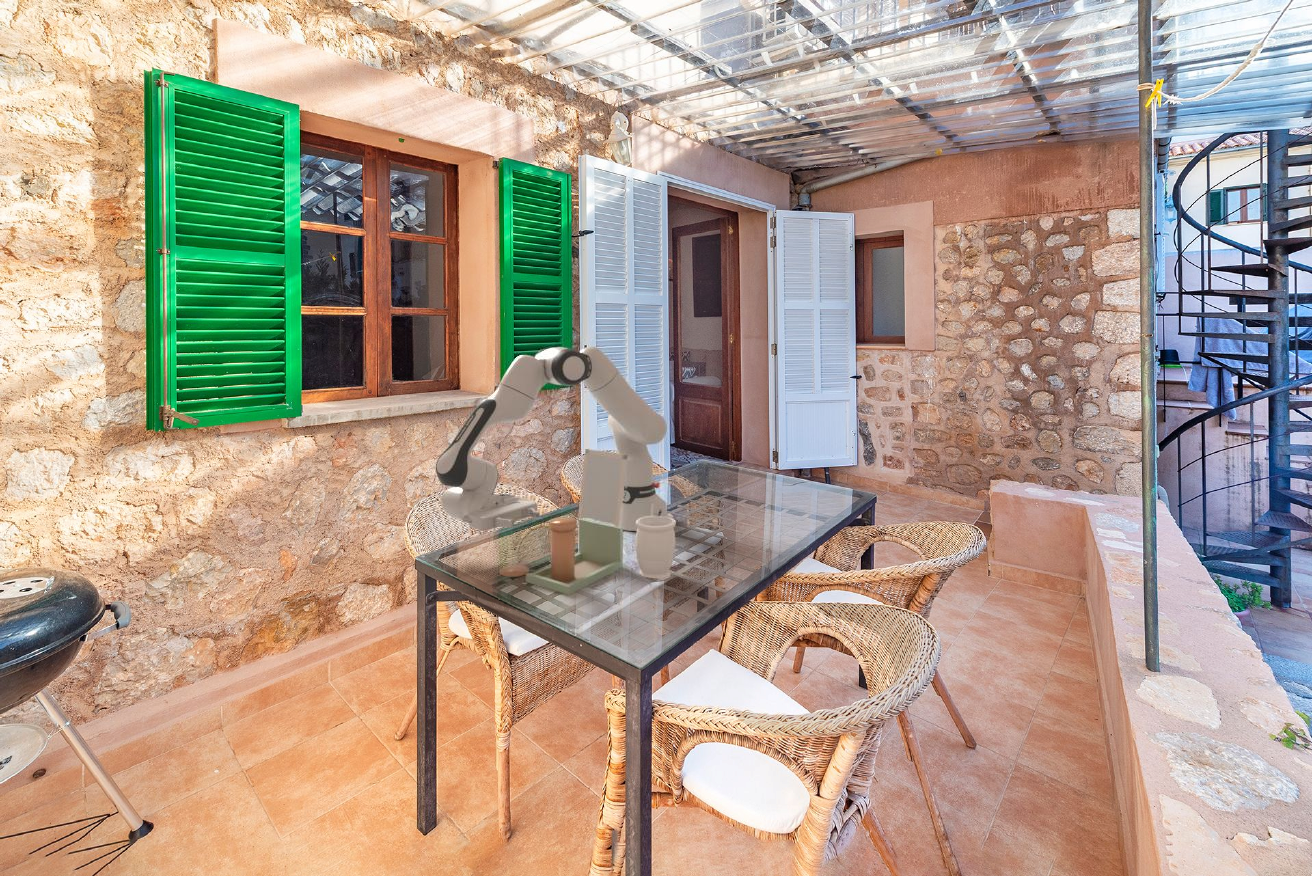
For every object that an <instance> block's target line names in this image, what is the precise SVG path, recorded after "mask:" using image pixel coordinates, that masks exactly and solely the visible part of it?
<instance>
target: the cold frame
mask: <svg viewBox="0 0 1312 876" xmlns="http://www.w3.org/2000/svg"><path fill="white" fill-rule="evenodd" d="M623 545H624V530H623V528H622V527H616V526H614V525H613V524H610V523H605V522H601V521H599V522H598V521H596V520H592V519H590V520H589V519H587V518H583V519H580V518H578V552H577V553H575V578H574V580H572V581H570V582H564V583H563V582H559V581H556V580H552V579H551V564H550V565H548V566H545V567H543V568H541V569H539V570H536V571H534V572H528V573H527V574H525V583H528V584H532V585H535V586H539V587H541V588H544V589H549V590H551V591H555V592H557V593H561V594H565V595H567V596H570V595H572V594H574V593H576V592H578V591H580V590H581V589H583V588H585V587H587V586H589V585H591V584H593V583H596V582H597V581H599V580H601V579H603V578H604V577H607V576H609V575H610V574H613V573H615V572H617V571H618V570H621V569H622V568H623V566H624V565H623V564H624V562H623V559H624V554H623V553H624V550H623V549H624V547H623Z"/></svg>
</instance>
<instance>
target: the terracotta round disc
mask: <svg viewBox="0 0 1312 876" xmlns="http://www.w3.org/2000/svg"><path fill="white" fill-rule="evenodd" d="M527 573H530V567H528V566H526V565H524V564H522V565H521V564H510V565H505V566H503V567H501V568H500V569H499V574H500V575H501V576H503V577H509V578H511V577H513V578H514V577H521V576H524V575H526V574H527Z"/></svg>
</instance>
